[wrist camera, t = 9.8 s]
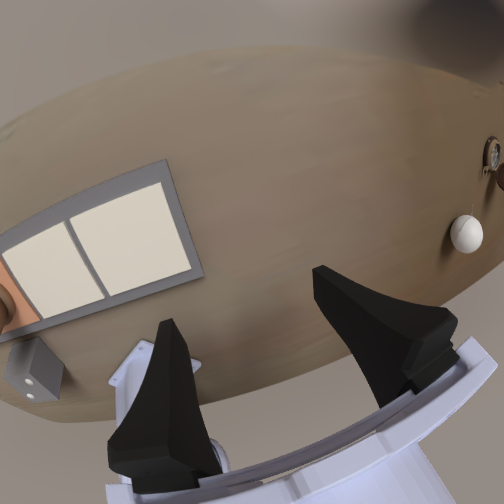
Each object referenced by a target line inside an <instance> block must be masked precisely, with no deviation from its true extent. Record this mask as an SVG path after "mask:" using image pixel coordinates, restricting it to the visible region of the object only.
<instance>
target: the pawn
mask: <svg viewBox="0 0 504 504" xmlns="http://www.w3.org/2000/svg"><path fill="white" fill-rule="evenodd" d="M15 311H16V306H15V302H14V299H13V297H12V296H11V294H10V293H9V291H8V290H7V289H6V288H5V287H4V286H3V285H2V284H0V335H1V333H2V330H3V328H4V326H5V325H8V324H10V323H11V321H12V319H13V317H14V314H15Z"/></svg>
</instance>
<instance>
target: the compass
mask: <svg viewBox="0 0 504 504" xmlns="http://www.w3.org/2000/svg"><path fill="white" fill-rule="evenodd" d="M500 158H501V146H500V144H499V141H498V139H497V138H496V137H494V136H491V137H490V138H489V139H488V141H487V143H486V146H485V149H484V166H485V167H484V169H485V171H488V172H490V173H491V172H493V171H494V170H495V171H496V180H497V183H498V185H499V187H500V188H501V189H502V190H503V191H504V163H502V164H500V165H499V162H500ZM498 165H499V166H498ZM484 169H483V173H484ZM486 175H487V172H486ZM486 175H485V176H484V175H483V177H486Z"/></svg>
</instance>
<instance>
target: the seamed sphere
mask: <svg viewBox="0 0 504 504" xmlns="http://www.w3.org/2000/svg"><path fill="white" fill-rule="evenodd" d="M472 211H473V205H472ZM450 236H451V241H452V243H453V245H454V247H455V248H456V249H457V250H458V251H461V252H463V253H471V252H474V251H475V250H477V249H478V248H479V246H480V245H481V243H482V238H483V231H482V227H481V225H480V223H479V221H477V220H476V219H475V218H474V217H472V216H469V215H463V216H460V217H458V218H457V219H456V220H455V221H454V223H453V224H452V227H451V231H450Z"/></svg>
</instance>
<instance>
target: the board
mask: <svg viewBox="0 0 504 504" xmlns="http://www.w3.org/2000/svg"><path fill="white" fill-rule="evenodd" d="M203 276H204V272H203V269H202V266H201V263H200V260H199V258H198V255H197V252H196V249H195V246H194V243H193V241H192V238H191V235H190V232H189V229H188V226H187V223H186V220H185V217H184V214H183V211H182V208H181V205H180V202H179V199H178V196H177V192H176V189H175V186H174V183H173V180H172V177H171V173H170V170H169V167H168V163H167V160H166V159H163V160H161V161H158V162H155V163H152V164H149V165H146V166H143V167H141V168H138V169H135V170H133V171H130V172H127V173H125V174H122V175H120V176H117V177H115V178H112V179H110V180H107V181H105V182H103V183H100V184H98V185H96V186H93V187H91V188H89V189H87V190H84V191H82V192H80V193H78V194H76V195H74V196H71V197H69V198H67V199H65V200H63V201H61V202H59V203H57V204H55V205H53V206H51V207H49V208H47V209H45V210H43V211H41V212H40V213H38V214H36V215H34V216H32V217H30V218H29V219H27V220H25V221H23V222H21V223H20V224H18V225H16V226H15V227H13V228H11V229H9V230H8V231H6V232H5V233H3V234H1V235H0V284H2V285H3V286H4V287H5V288H6V289H7V290H8V291H9V293H10V294H11V296H12V297H13V299H14V302H15V306H16V311H15V314H14V317H13V319H12V321H11V323H10V324H8V325H5V326H4V328H3V330H2V333H1V335H0V343H1V342H5V341H8V340H11V339H14V338H17V337H20V336H23V335H27V334H30V333H33V332H36V331H39V330H42V329H45V328H48V327H52V326H55V325H58V324H61V323H64V322H67V321H70V320H73V319H76V318H79V317H82V316H85V315H89V314H92V313H95V312H98V311H101V310H104V309H107V308H110V307H113V306H116V305H119V304H122V303H125V302H128V301H131V300H134V299H137V298H140V297H143V296H146V295H149V294H152V293H155V292H158V291H161V290H164V289H167V288H170V287H173V286H176V285H179V284H182V283H185V282H188V281H191V280H194V279H197V278H200V277H203Z"/></svg>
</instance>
